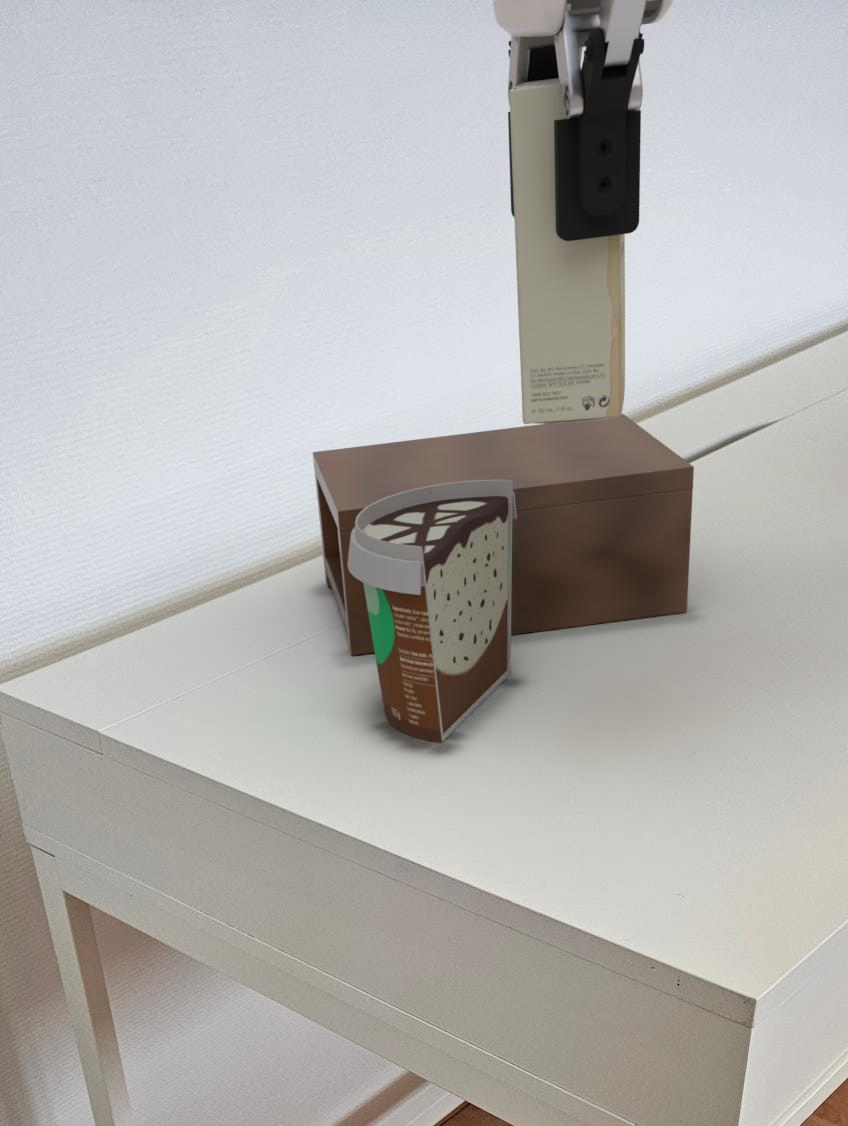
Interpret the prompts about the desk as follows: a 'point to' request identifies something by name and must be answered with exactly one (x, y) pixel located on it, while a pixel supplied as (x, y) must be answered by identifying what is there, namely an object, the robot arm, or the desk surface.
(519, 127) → the cosmetic box
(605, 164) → the robot arm
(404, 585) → the food container
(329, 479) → the shelf
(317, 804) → the desk surface
